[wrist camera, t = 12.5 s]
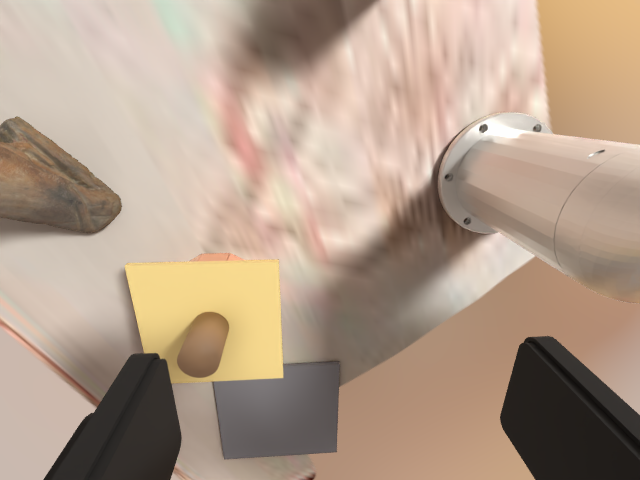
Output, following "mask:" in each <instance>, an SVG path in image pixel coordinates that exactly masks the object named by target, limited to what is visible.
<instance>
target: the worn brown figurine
mask: <svg viewBox="0 0 640 480" xmlns="http://www.w3.org/2000/svg"><path fill="white" fill-rule="evenodd" d="M120 200H121V199H120V198H119V196H118V195H117V194H116V193H114V192H113V191H112V190H111V188H109V187H108V186H107V185H106V184H104V183H103V182H102V181H101V180H99V179H98V178H96V177H94V175H93V173H91V172H89V170H88V168H87V167H85V166H84V165H82V164H81V163H80V162H78V160H76V159H75V158H72V156H71V155H70V154H68V153H66V152H65V151H64V150H63V149H62V148H60V147H58V145H57V144H55V143H54V142H53V141H52V140H50V139H49V138H47V137H46V136H45V135H43V134H41V133H40V132H38V131H37V130H36V129H34V127H32V126H31V125H30V124H28V123H27V122H25V121H24V120H22V119H21V118H20V117H15V118H13V119H8V120H6V121H4V122H3V123H2V124H1V125H0V217H1V218H7V219H13V220H18V221H24V222H31V223H38V224H48V225H51V226H55V227H60V228H64V229H70V230H75V231H81V232H86V233H91V232H96V231H98V230H100V229H102V228H104V227H105V226H106V225H108V224H109V223H110V222H111V221H113V220H114V219H115V217H116V216H117V215H118V214H119V213H120V211H121V207H122V206H121V201H120Z"/></svg>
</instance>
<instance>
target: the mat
mask: <svg viewBox="0 0 640 480" xmlns="http://www.w3.org/2000/svg"><path fill="white" fill-rule="evenodd" d="M339 367H340V364H339V362H317V363H296V364H283V378H273V379H253V380H232V381H213V382H214V389H215V397H216V404H217V411H218V418H219V426H220V433H221V440H222V447H223V455H224V459H238V458H254V457H269V456H285V455H300V454H314V453H315V454H316V453H331V452H337V423H338V394H339Z"/></svg>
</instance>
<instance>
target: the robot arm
mask: <svg viewBox="0 0 640 480" xmlns="http://www.w3.org/2000/svg"><path fill="white" fill-rule="evenodd" d="M480 126H481V129H480V130H479V128H480ZM447 174H448V176H447V177H446V178H445V176H446V175H447ZM438 193H439V198H440V201H441V204H442V206H443V208H444V210H445V211H446V213H447V214H448V215H449V217H450V218H451V219H453V220H454V221H455V222H456V223H457V224H459V225H460V226H462V227H463V228H465V229H468V230H470V231H473V232H477V233H483V234H488V233H498V232H499V233H501V234H502V235H504V236H505V237H507V238H508V239H510V240H512V241H513V242H515V243H516V244H518V245H519V246H521V247H523V248H524V249H526V250H527V251H529V252H530V253H532V254H534V255H535V256H537V257H538V258H540V259H541V260H543V261H545V262H546V263H548V264H549V265H551V266H553V267H554V268H556V269H557V270H559V271H560V272H562V273H563V274H565V275H567V276H569V277H570V278H572V279H573V280H575V281H577V282H578V283H580V284H581V285H583V286H585V287H586V288H588V289H590V290H592V291H594V292H596V293H598V294H600V295H602V296H605V297H608V298H610V299H614V300H618V301H623V302H628V303H640V145H636V144H628V143H620V142H612V141H604V140H596V139H588V138H580V137H571V136H564V135H556V134H553V133H552V131H551V130H550V129H549V128H548V127H547V126H546V125H545V123H543V122H542V121H540V120H539V119H537V118H536V117H534V116H531V115H528V114H525V113H517V112H500V113H495V114H491V115H488V116H486V117H483V118H481V119H479V120H477V121H475V122H474V123H472V124H471V125H469V126H468V127H466V128H465V129H464V130H463V131H462V132H461V133H460V134H459V135H458V136H457V137H456V138H455V139H454V141H453V142H452V143H451V144H450V146H449V148H448V150H447V151H446V153H445V155H444V157H443V160H442V162H441V165H440V169H439V174H438ZM464 219H465V220H464ZM500 420H501V425H502V428H503V430H504V431H505V433H506V435H507V436H508V438H509V439H510V441H511V442H512V444H513V445H514V447H515V449H516V450H517V452H518V453H519V455H520V456H521V458H522V459H523V461H524V462H525V464H526V465H527V467H528V469H529V470H530V472H531V473H532V475H533V476H534V478H535V480H640V415H639V414H638V413H637V412H635V411H634V410H633V409H632V408H631V407H630V406H629V405H628V404H627V403H625V402H624V401H623V400H622V399H621V398H620V397H619V396H618V395H617V394H616V393H614V392H613V391H612V390H611V389H610V388H609V387H608V386H607V385H606V384H604V383H603V382H602V381H601V380H600V379H599V378H598V377H597V376H596V375H595V374H593V373H592V372H591V371H590V370H589V369H588V368H587V367H586V366H585V365H584V364H582V363H581V362H580V361H579V360H578V359H577V358H576V357H574V356H573V355H572V354H571V353H570V352H569V351H568V350H567V349H566V348H565V347H564V346H562V345H561V344H560V343H559V342H558V341H557V340H556V339H554V338H553V337H549V336H545V337H528V338H526V339H525V341H524V343H522V344H520V346H519V349H518V352H517V356H516V360H515V363H514V367H513V371H512V375H511V378H510V382H509V385H508V389H507V393H506V396H505V400H504V404H503V408H502V411H501V416H500ZM180 446H181V431H180V425H179V420H178V415H177V410H176V405H175V400H174V395H173V390H172V385H171V380H170V375H169V369H168V364H167V361H166V359H160V356H159V355H158V353H144V354H133V355H131V356H130V357H129V359H128V360H127V362H126V363H125V365H124V366H123V368H122V370H121V371H120V373H119V374H118V376H117V377H116V379H115V381H114V382H113V384H112V385H111V387H110V388H109V390H108V392H107V393H106V395H105V396H104V398H103V399H102V401H101V402H100V404H99V406H98V407H97V409H96V410H95V412H94V413H91V414H89V415H88V416H86V417H85V419H84V420H83V421H82V422H81V424H80V425H79V427H78V428H77V430H76V431H75V433H74V434H73V436H72V437H71V439H70V440H69V442H68V443H67V445H66V446H65V448H64V449H63V451H62V452H61V454H60V455H59V457H58V458H57V460H56V461H55V463H54V465H53V466H52V468H51V469H50V471H49V472H48V474H47V475H46V477H45V478H44V480H170V479H171V476H172V472H173V469H174V466H175V463H176V460H177V457H178V454H179V451H180Z"/></svg>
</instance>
